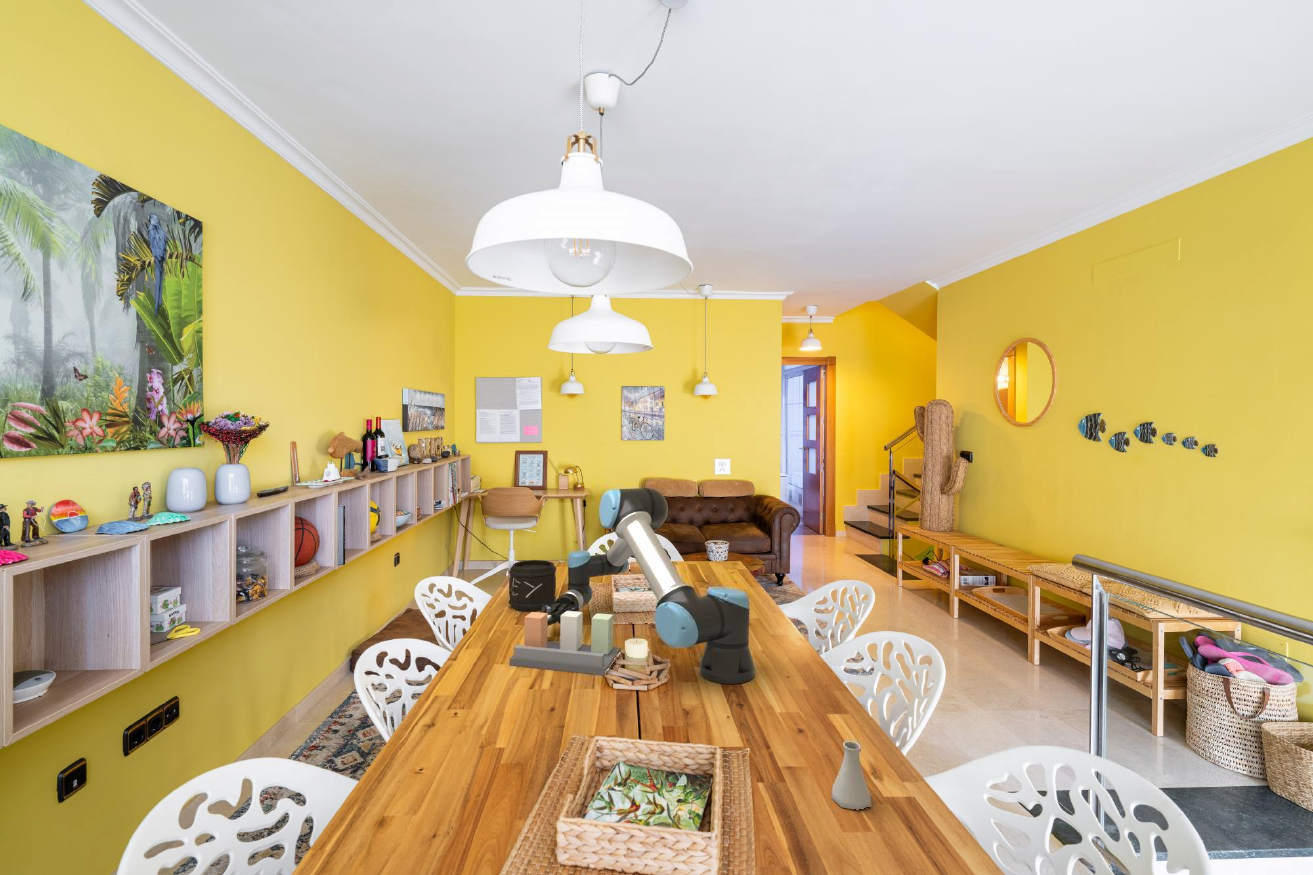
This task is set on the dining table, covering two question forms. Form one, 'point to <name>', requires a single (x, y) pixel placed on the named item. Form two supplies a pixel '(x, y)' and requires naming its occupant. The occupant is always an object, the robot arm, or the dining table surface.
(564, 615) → the grey key
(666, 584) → the robot arm
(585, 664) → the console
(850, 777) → the flask
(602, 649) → the sage key
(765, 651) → the dining table surface
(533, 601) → the black lettered canister
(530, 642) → the salmon orange block
